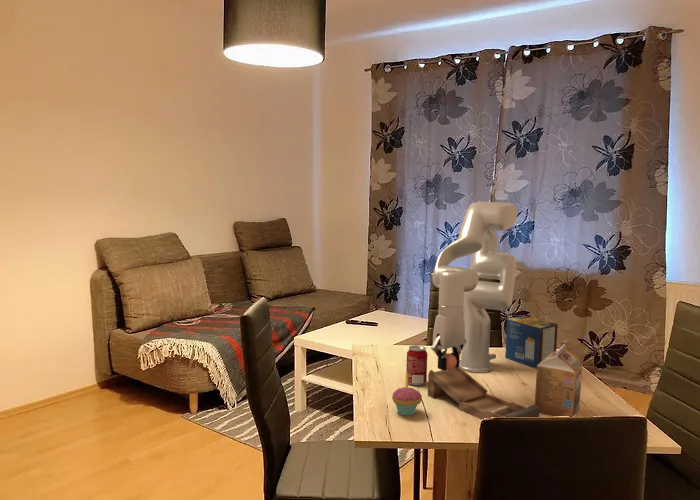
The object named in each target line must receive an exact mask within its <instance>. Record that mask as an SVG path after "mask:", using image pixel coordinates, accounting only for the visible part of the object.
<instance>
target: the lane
mask: <svg viewBox="0 0 700 500" xmlns="http://www.w3.org/2000/svg"><path fill="white" fill-rule="evenodd" d="M427 377H428V380H427V382H428V383H427V397H430V398H431V399H434V398H438V397H441V396H445V395H447V396H449V397H450V398H451V399H452V400H454V401H455V402H456V403H457V404H458V410H459V411H461V412H464V413H467V414H469V416H470V415H471V416H472V417H476V418H477V419H480V420H482V419H484V418H491V417H504V416H503V415H505V418H506V417H539V418H540V407H539V406H536V405H535V404H532V405H529V406H527V407H526V406H525V405H521V404H519V403H516V402H514V401H510V402H509V401H507V400H504V399H502V398H500V397H497V396H494V395H492V394H489V393H488V390H487V389H486V388H485V387H484V386H482V384H480V383H479V382H478V381H477V380H476V379H474V377H472V376H471V375H470V374H469V373H467V371H465V370H463V369H461V368H460V367H454V368H453V369H451V370H447V369H446V370H445V371H444V370H441V369H440V370H438V371H434V370H432V369H430V370H429V372H428V375H427Z"/></svg>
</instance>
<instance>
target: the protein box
mask: <svg viewBox="0 0 700 500" xmlns="http://www.w3.org/2000/svg"><path fill="white" fill-rule="evenodd" d="M506 320H507V322H506V336H505V338H506V339H505V341H506V342H505V353H504V354H505V355H504V358H505V359H507V360H510V361H512V362H515V363H518V364H521V365H523V366H527V367H530V368H533V369H534V370H535V369H536V370H537V365H538V364H539V363H540V362H541V361H542V360H543V359H544V358H545V357H546V356H547V355H549V354H550V353H552V352H555V351H557V344H558V343H557V342H558V341H557V340H558V328H559V327H558V325H559V324H558V323H555V322H551V321H546V320H543V319H539V318H535V317H531V316H528V315H521V316H517V317H516V316H515V317H510V318H507V319H506Z"/></svg>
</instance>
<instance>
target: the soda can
mask: <svg viewBox="0 0 700 500" xmlns="http://www.w3.org/2000/svg"><path fill="white" fill-rule="evenodd" d="M405 370H407V373H408V385H411V386H415V387H416V386H417V387H421V386H423V385H425V384H426V383H427V382H428V380H427V377H428V375H427V374H428V352H427V348H426V346H422V345H410V346H409V347H408V350H407V352H406V368H405Z"/></svg>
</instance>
